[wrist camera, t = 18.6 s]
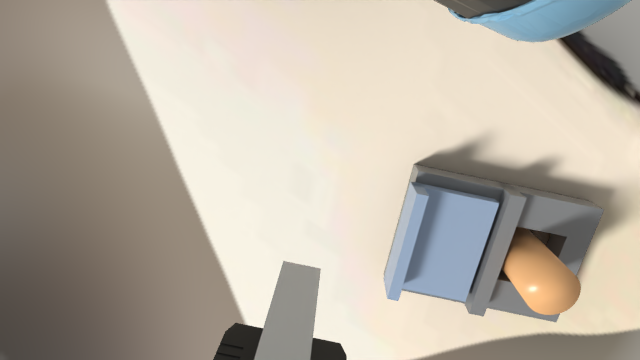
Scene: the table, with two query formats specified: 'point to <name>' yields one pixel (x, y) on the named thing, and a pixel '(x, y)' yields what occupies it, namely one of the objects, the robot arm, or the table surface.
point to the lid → (438, 242)
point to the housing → (514, 210)
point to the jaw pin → (539, 275)
